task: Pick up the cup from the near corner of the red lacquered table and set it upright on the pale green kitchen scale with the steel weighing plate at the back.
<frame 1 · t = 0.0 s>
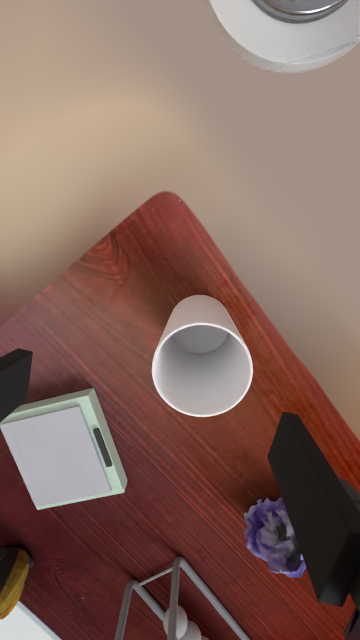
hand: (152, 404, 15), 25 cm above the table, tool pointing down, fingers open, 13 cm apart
flower: (277, 512, 45), on the table
newton's cradle: (202, 619, 51), on the table
scale: (68, 445, 44), on the table
figurine: (18, 554, 50), on the table
cup: (199, 324, 40), on the table
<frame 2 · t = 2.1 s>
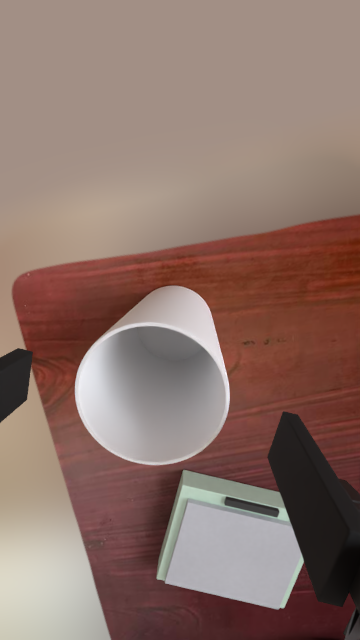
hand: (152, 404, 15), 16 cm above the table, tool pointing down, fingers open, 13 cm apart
scale: (233, 530, 36), on the table
cup: (173, 324, 31), on the table
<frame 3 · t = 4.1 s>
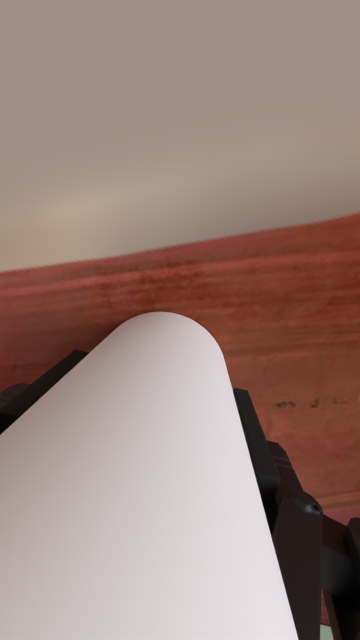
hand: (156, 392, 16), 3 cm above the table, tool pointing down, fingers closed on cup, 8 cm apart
cup: (161, 373, 19), on the table, touching gripper
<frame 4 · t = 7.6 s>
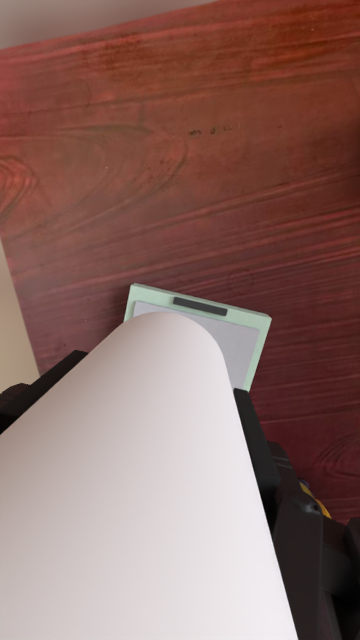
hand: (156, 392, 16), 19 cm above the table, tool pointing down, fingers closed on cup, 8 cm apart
scale: (187, 353, 36), on the table
figurine: (288, 491, 40), on the table
cup: (161, 373, 19), point 17 cm above the table, touching gripper
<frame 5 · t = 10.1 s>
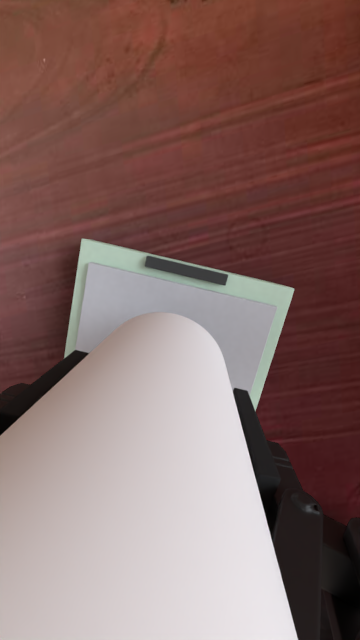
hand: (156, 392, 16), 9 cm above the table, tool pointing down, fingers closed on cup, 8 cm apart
scale: (170, 343, 25), on the table
figurine: (312, 535, 29), on the table
cup: (161, 373, 19), point 6 cm above the table, touching gripper
when the fingers open (5 cm above the table, at t = 11.5 s): cup stays where it is, resting on scale.
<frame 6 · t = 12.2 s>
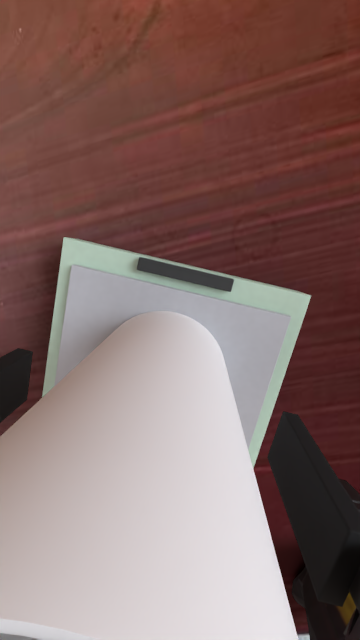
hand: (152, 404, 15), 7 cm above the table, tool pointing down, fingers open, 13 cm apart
scale: (166, 356, 22), on the table
figurine: (326, 569, 26), on the table
cup: (162, 370, 20), point 3 cm above the table, touching scale
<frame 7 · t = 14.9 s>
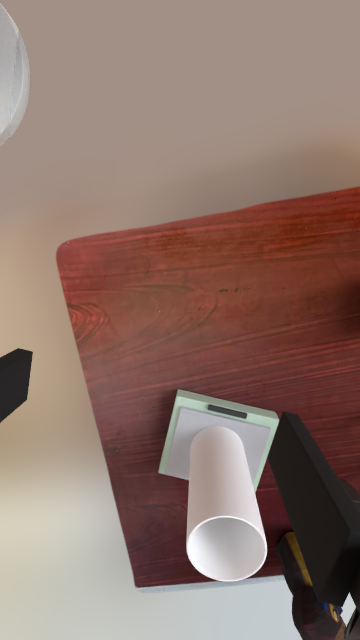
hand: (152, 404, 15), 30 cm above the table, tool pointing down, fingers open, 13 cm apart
scale: (215, 438, 48), on the table
figurine: (293, 539, 52), on the table
cup: (216, 449, 46), point 3 cm above the table, touching scale
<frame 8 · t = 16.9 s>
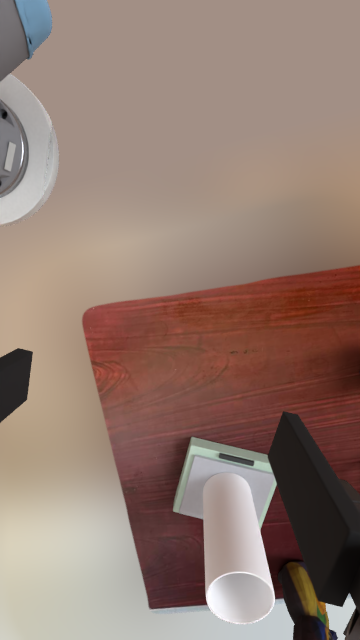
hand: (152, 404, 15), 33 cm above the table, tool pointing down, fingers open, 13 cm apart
scale: (224, 479, 54), on the table
figurine: (293, 568, 57), on the table
cup: (226, 491, 51), point 3 cm above the table, touching scale
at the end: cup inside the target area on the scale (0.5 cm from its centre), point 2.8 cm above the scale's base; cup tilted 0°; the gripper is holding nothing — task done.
